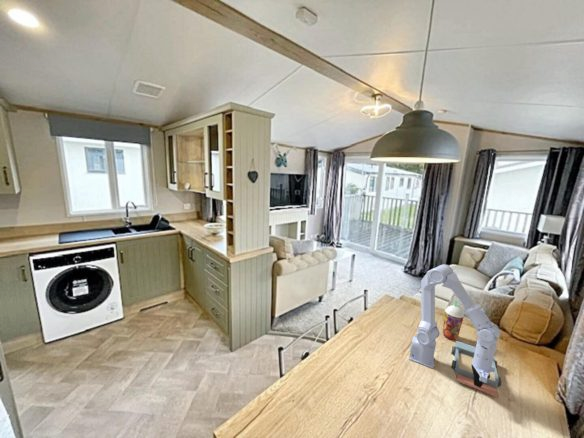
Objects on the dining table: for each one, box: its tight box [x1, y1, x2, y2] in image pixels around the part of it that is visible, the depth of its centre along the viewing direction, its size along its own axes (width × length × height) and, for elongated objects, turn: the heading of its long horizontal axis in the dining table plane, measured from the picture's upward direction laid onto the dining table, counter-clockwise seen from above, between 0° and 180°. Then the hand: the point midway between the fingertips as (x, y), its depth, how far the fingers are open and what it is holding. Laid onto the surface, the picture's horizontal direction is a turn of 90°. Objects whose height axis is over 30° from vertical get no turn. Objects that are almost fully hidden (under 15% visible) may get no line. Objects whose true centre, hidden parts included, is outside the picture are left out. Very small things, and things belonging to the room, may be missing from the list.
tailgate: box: [456, 373, 500, 398], centre depth 101 cm, size 13×1×6 cm
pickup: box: [451, 340, 502, 389], centre depth 111 cm, size 16×17×5 cm
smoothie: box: [442, 300, 465, 341], centre depth 130 cm, size 8×8×20 cm
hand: (477, 385), depth 99 cm, fingers closed, pressing on tailgate
